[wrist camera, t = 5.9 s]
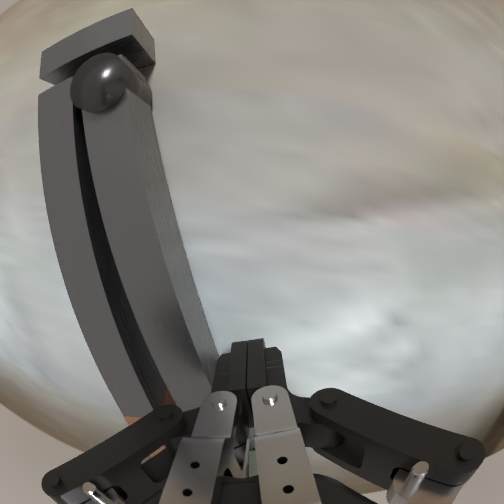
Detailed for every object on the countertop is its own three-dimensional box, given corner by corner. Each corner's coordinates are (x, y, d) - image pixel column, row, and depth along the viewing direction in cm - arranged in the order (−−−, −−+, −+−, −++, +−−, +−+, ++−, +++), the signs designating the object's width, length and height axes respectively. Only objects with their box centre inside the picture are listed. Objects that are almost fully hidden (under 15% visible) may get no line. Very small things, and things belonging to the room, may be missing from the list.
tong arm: (105, 90, 11) (69, 69, 7) (148, 72, 11) (120, 43, 7) (215, 433, 16) (211, 474, 12) (250, 429, 16) (251, 471, 12)
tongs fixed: (153, 39, 10) (131, 7, 7) (233, 429, 16) (232, 467, 13) (75, 70, 10) (41, 51, 7) (166, 430, 16) (157, 466, 13)
